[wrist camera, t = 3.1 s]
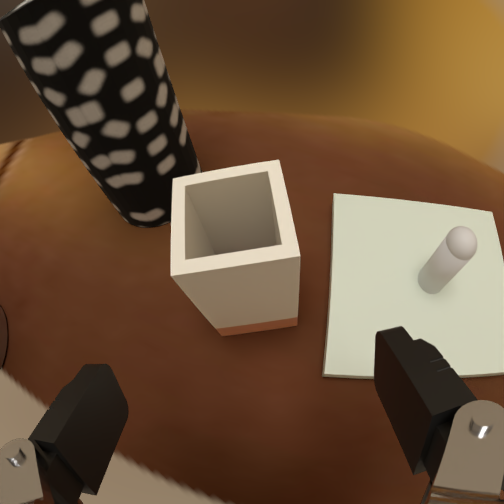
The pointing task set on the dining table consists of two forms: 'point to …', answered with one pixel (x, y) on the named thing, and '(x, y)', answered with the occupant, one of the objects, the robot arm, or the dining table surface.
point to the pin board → (414, 284)
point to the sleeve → (236, 247)
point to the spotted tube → (108, 97)
